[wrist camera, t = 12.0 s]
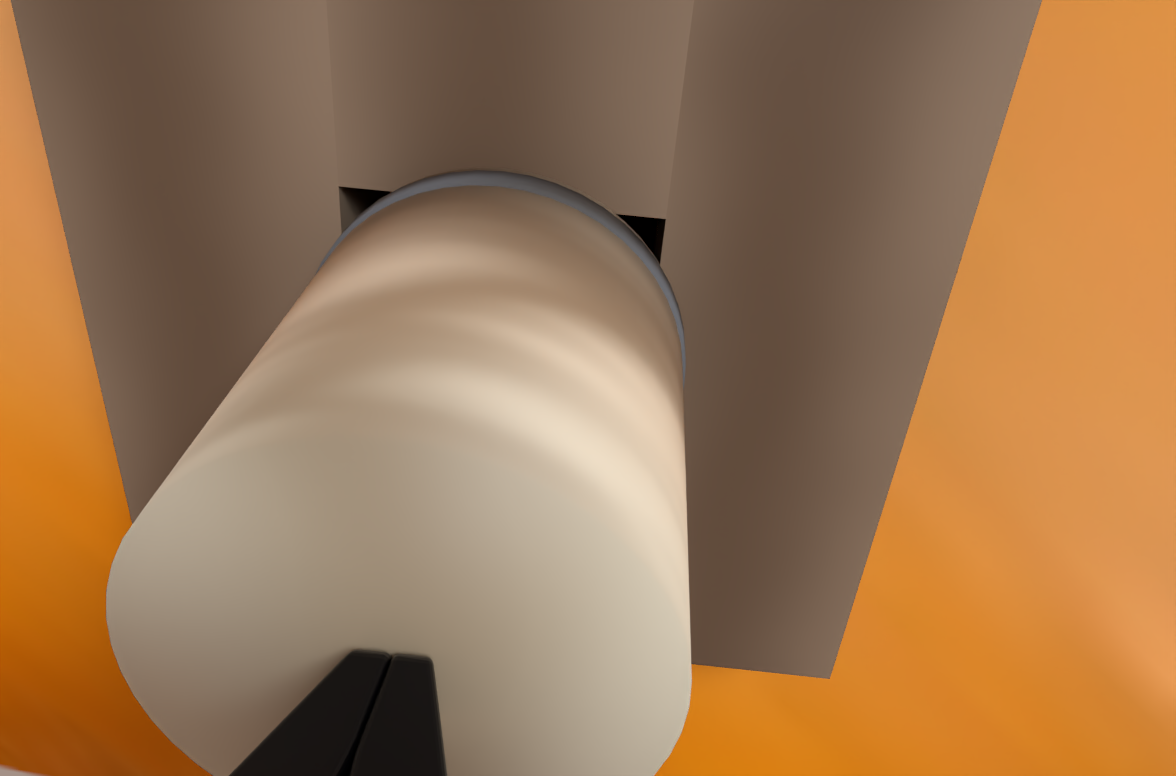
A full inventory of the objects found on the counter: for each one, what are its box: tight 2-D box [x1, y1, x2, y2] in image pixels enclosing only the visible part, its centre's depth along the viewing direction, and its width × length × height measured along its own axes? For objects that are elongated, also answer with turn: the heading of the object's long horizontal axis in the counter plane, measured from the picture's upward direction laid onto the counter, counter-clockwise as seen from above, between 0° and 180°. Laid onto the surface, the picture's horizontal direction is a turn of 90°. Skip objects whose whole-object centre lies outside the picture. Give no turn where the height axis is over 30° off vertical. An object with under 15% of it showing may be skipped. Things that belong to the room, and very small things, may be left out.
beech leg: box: [106, 168, 692, 776], centre depth 14 cm, size 6×6×10 cm
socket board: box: [11, 0, 1042, 679], centre depth 17 cm, size 14×14×3 cm
